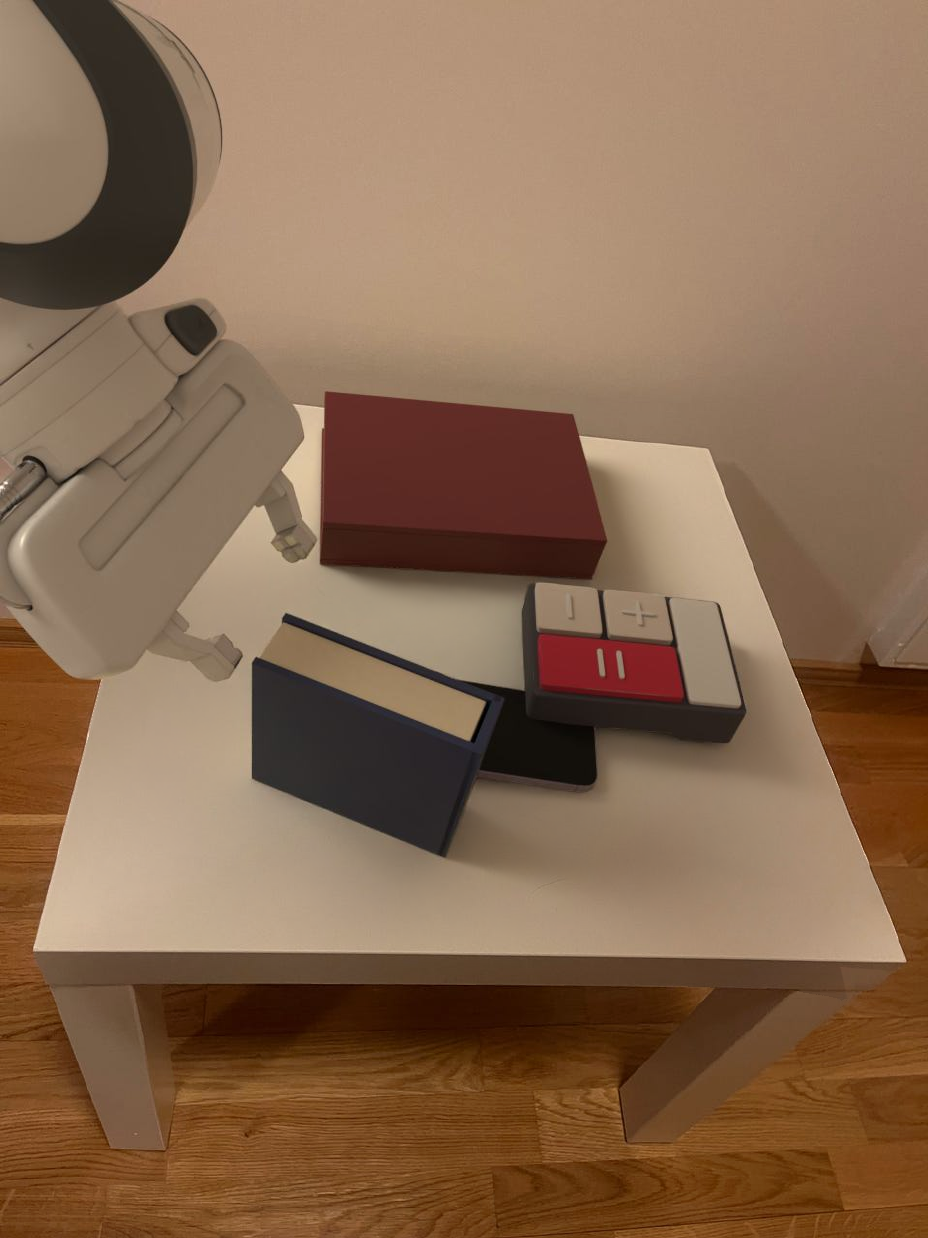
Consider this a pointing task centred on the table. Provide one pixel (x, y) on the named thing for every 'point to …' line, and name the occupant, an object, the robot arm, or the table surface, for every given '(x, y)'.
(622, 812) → the table surface
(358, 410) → the encyclopedia
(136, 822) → the table surface
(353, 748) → the hardcover book
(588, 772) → the smartphone
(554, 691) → the calculator
